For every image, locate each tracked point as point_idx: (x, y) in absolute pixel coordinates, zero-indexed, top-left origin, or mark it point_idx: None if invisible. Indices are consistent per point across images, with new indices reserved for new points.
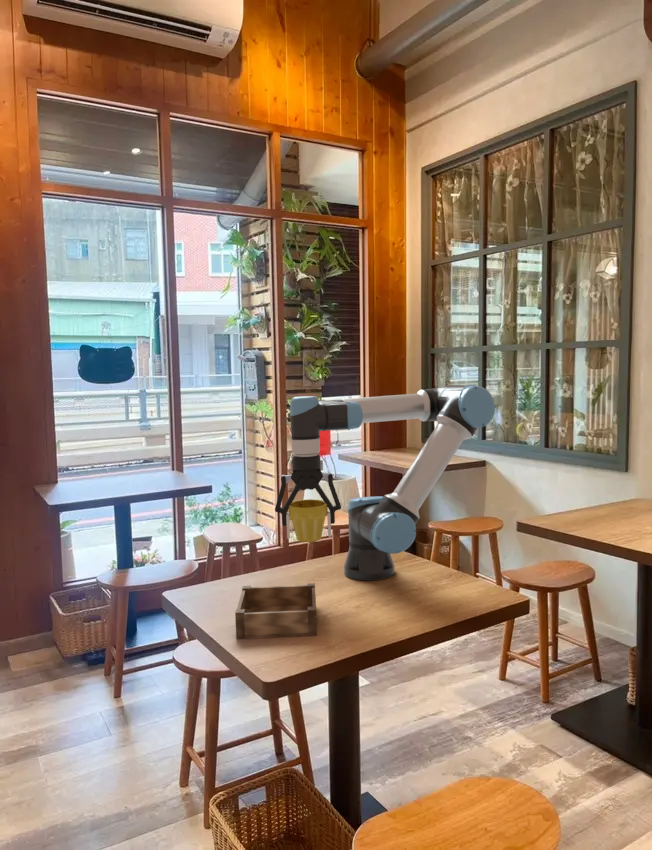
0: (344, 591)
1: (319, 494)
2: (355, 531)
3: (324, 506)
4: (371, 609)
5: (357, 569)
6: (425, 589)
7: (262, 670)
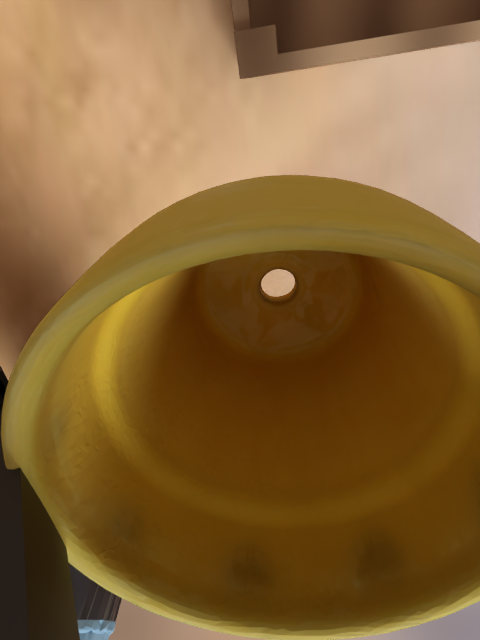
0: None
1: (23, 633)
2: None
3: (10, 383)
4: (19, 51)
5: None
6: None
7: None
